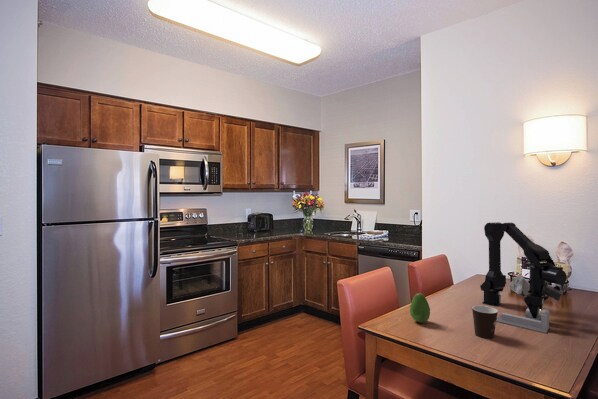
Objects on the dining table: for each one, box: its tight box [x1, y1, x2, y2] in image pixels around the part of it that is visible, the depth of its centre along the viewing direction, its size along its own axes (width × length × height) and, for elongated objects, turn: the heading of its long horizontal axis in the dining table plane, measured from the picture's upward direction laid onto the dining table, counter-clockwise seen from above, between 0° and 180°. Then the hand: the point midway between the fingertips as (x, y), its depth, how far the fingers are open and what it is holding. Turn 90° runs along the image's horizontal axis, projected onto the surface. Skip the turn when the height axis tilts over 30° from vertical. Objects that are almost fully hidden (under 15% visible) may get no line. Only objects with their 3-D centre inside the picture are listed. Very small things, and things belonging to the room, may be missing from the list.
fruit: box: [409, 292, 431, 324], centre depth 145 cm, size 8×8×12 cm
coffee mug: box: [471, 305, 499, 340], centre depth 133 cm, size 12×9×10 cm
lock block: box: [525, 307, 543, 321], centre depth 146 cm, size 7×6×6 cm
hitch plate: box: [496, 307, 551, 334], centre depth 143 cm, size 18×8×9 cm, turn 46°
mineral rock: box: [508, 274, 532, 296], centre depth 189 cm, size 13×11×10 cm
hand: (537, 315), depth 146 cm, fingers open, 9 cm apart
